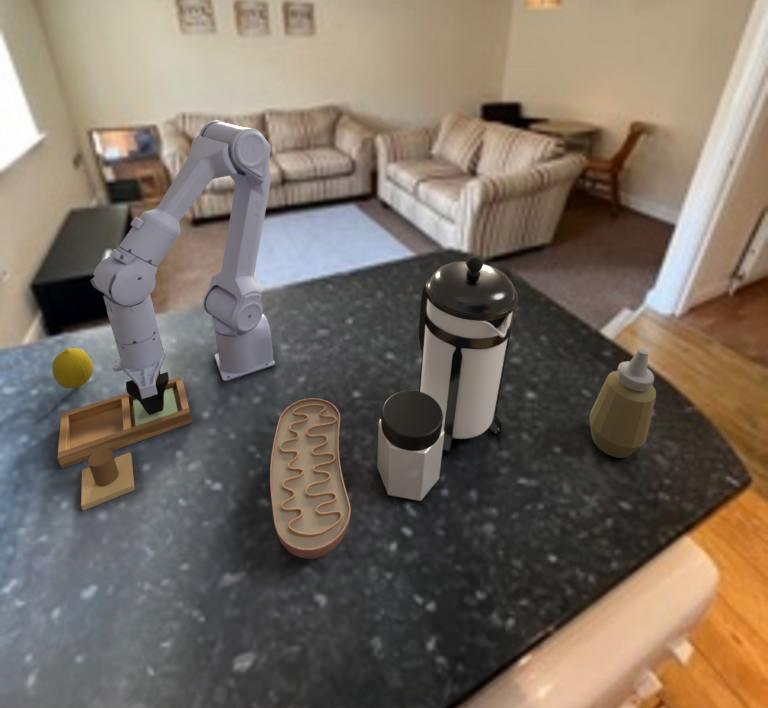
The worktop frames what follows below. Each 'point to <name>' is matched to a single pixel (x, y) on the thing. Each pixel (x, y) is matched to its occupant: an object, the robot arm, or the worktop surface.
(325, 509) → the anatomical model
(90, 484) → the sand pad
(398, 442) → the jar
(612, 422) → the squeeze bottle
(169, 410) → the sage pad
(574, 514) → the worktop surface
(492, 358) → the coffee press
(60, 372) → the lemon
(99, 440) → the divided wooden tray
